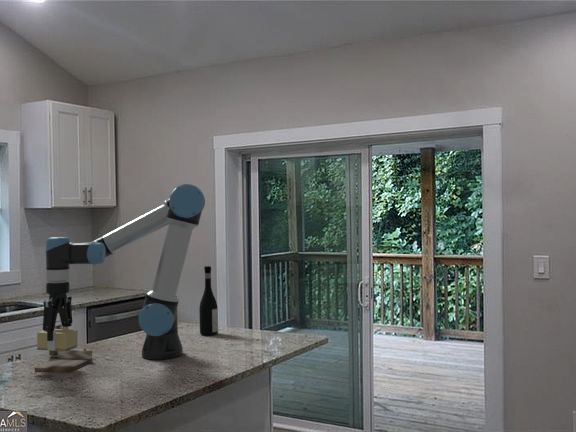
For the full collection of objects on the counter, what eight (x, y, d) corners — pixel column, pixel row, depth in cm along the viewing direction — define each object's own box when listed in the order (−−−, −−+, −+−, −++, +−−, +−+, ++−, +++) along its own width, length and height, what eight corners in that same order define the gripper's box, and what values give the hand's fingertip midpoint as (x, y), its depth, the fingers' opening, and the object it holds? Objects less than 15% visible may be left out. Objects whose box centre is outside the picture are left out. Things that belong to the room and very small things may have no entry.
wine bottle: (218, 332, 263) (217, 265, 263) (217, 335, 255) (216, 266, 255) (200, 332, 263) (199, 265, 263) (198, 336, 255) (197, 267, 255)
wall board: (92, 361, 213) (92, 348, 213) (69, 372, 198) (69, 358, 198) (59, 360, 215) (59, 348, 215) (34, 371, 201) (34, 357, 201)
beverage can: (60, 358, 218) (60, 326, 218) (42, 358, 220) (42, 326, 220) (70, 354, 225) (69, 323, 225) (52, 354, 226) (52, 323, 226)
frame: (77, 347, 206) (77, 329, 206) (66, 351, 199) (66, 333, 199) (49, 345, 208) (49, 328, 208) (37, 349, 202) (37, 332, 202)
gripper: (64, 278, 214) (64, 341, 214) (30, 284, 195) (30, 353, 195) (82, 278, 213) (83, 342, 213) (50, 284, 193) (51, 354, 193)
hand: (58, 347), depth 204 cm, fingers closed on frame, 7 cm apart
